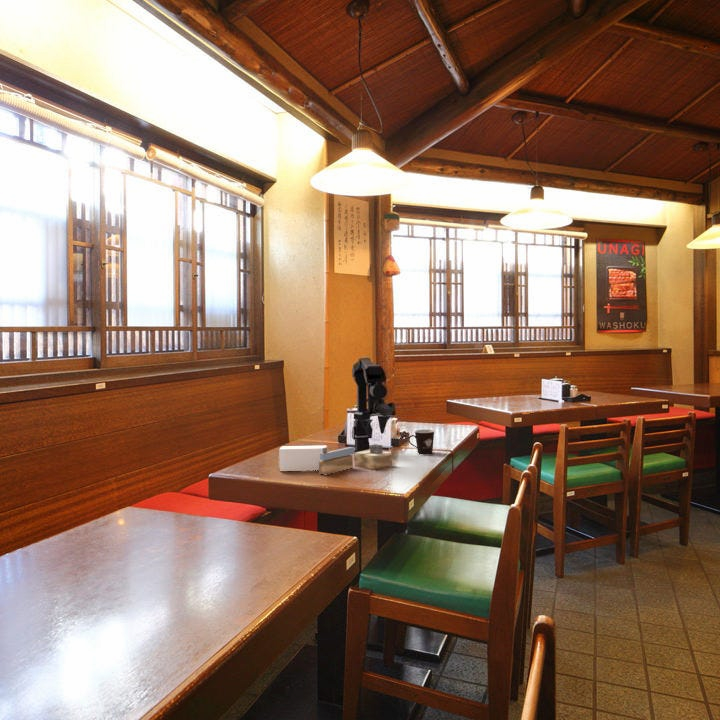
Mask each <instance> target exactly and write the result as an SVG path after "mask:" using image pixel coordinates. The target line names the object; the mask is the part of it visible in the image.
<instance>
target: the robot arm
mask: <svg viewBox="0 0 720 720" xmlns="http://www.w3.org/2000/svg"><path fill="white" fill-rule="evenodd" d="M351 375H352V376H351V377H353V381H354V382H355V384H356V406H357V408H356V411H355V412H354V413H353V426H352V429H351V438H352V439H353V440H354V453H355V452H359V451H364V450H368V449H370V439H372V438H373V430H374V428H373V426H372V422H373V419H371V417H377V420H378V425H379V430H380V433H381V434H384V433H385V430H386V426H387V424H388V421H389V420H390V419H392V417H393V416H396V414H397V413H396V403H394V402H389V403H386V402H385V399H384V398H385V397H386V396H387V394H388V389H387V387H386V386H385V385H384V384H383V383H386V382H387V375H386V372H385V370H384V368H383V367H382V365H381V364H374V363H373V362H372V359H371V358H369V357H360V358H358V359H357V362H356V363H354V364H353V365H352V369H351Z"/></svg>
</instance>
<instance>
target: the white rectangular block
mask: <svg viewBox="0 0 720 720" xmlns="http://www.w3.org/2000/svg"><path fill="white" fill-rule="evenodd" d="M323 448H328V445H324V444H323V445H288V446H287V445H285V446H284V445H282V446H281V447H280V448H279V449H278V451H279V452H277V455H278V456H277V457H278V470H279V472H280V471H302V472H307V471H306V470H309V471H308V472H318V471H317V470H319V461H321V460H320V453H323ZM313 470H314V471H313ZM315 470H316V471H315Z"/></svg>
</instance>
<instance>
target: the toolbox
mask: <svg viewBox="0 0 720 720" xmlns="http://www.w3.org/2000/svg"><path fill="white" fill-rule="evenodd" d="M353 461H354V462H353V463H354V465H355V466H354V465H353V466H354V467H357V466H359V467H358V468H362V467H363V468H364V469H366V468H367V469H368V470H371V471H377V470H382V469H385V468H389V467H392V466H393V454H391V455H389V456H385V457H380V458H376V459H372V458H367V457H362V456H357V455H355V454H354V455H353ZM363 468H362V469H363Z"/></svg>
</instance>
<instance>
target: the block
mask: <svg viewBox="0 0 720 720" xmlns="http://www.w3.org/2000/svg"><path fill="white" fill-rule="evenodd" d="M327 450H328V447H326V448H323V453H320V460H328V459H332V458H337V457H341V456H346V455H353V454H354V455H355V452H354V450H355V446H348V447H344V448H339V449H334V450H329V451H327Z"/></svg>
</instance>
